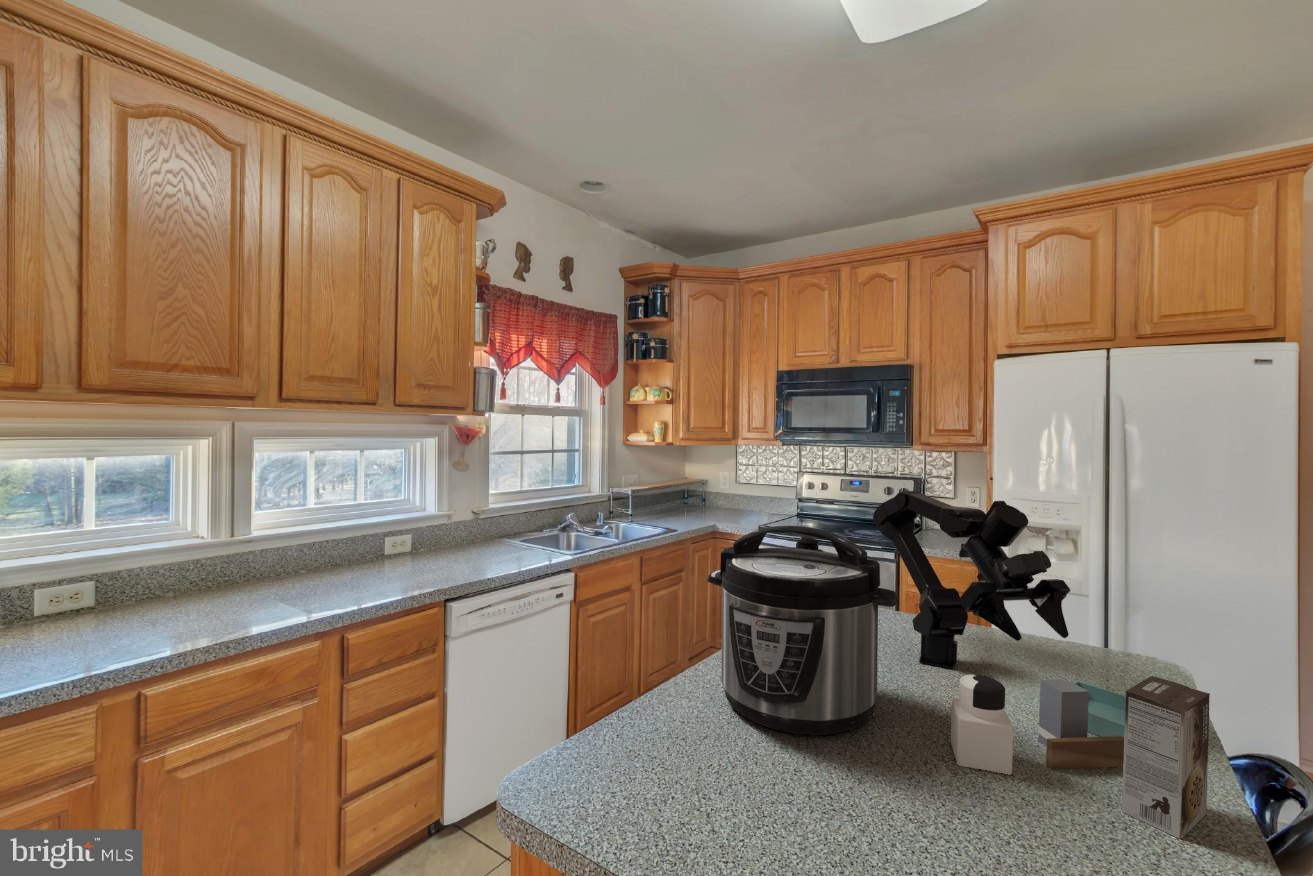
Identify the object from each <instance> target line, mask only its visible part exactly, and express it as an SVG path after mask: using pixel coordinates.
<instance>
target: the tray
mask: <svg viewBox="0 0 1313 876" xmlns="http://www.w3.org/2000/svg"><path fill="white" fill-rule="evenodd" d="M1070 681H1071V680H1070ZM1071 682H1072V683H1074V684H1076V685H1078V686H1080V687H1082V688H1083V689H1085V690H1087V691H1089V701H1088V731H1087V733H1090V734H1093V735H1095V736H1097V737H1113V736H1122V737H1124V736H1125V706H1126V694H1123V693H1120V692H1118V691H1114V690H1110V689H1107V688H1104V687H1101V686H1098V685H1094V684H1092V683H1089V682H1088V683H1087V682H1085V681H1082V680H1078V679H1074V680H1072V681H1071Z"/></svg>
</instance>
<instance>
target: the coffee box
mask: <svg viewBox="0 0 1313 876" xmlns="http://www.w3.org/2000/svg"><path fill="white" fill-rule="evenodd" d="M1125 695H1126V706H1125V736H1124V764H1123V767H1122V768H1123V769H1122V774H1123V775H1122V790H1121V791H1122V793H1121V796H1122V797H1121V798H1122V799H1121V811H1122V813H1124V814H1125V815H1127V816H1130V817H1132V818H1135V819H1136V820H1138V821H1141V822H1143V823H1145V824H1147V825H1149V826H1151V827H1154V828H1156V829H1157V830H1160V831H1161V832H1164V833H1167V834H1168V835H1170V836H1173V837H1175V838H1176V839H1180V840H1182V839H1184V837H1185V836H1187V834H1188V833H1190V832H1191V830H1192V829H1193V828H1194V827H1196V825H1197V824H1198V823H1199V822H1200V821H1202V819H1203V818H1204V817H1205V816H1206V815H1207V802H1208V801H1207V800H1208V799H1207V796H1208V795H1207V794H1208V765H1209V764H1208V762H1209V761H1208V760H1209V733H1210V728H1209V727H1210V697H1211V694H1210V693H1209V692H1205V691H1201V690H1198V689H1195V688H1191V687H1189V686H1187V685H1185V684H1180V683H1178V682H1175V681H1171V680H1167V679H1164V678H1161V677H1158V676H1153V675H1151V676H1149V677H1147V678H1145V679H1143V680H1142V681H1140V682H1139V683H1138V682H1137V683H1136V684H1135V685H1133V686H1132V687H1130V688H1129V689H1127V690H1126V691H1125Z"/></svg>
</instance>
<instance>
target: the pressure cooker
mask: <svg viewBox="0 0 1313 876" xmlns="http://www.w3.org/2000/svg"><path fill="white" fill-rule="evenodd" d="M768 533H793V534H794V533H795V534H799V535H802V536H800V537H799V538H798V539H796V543H795V547H791V548H790V547H762V548H761V547H760V546H761V544H762V543H763V541H764V539H765V537H766V535H767V534H768ZM816 538H818V539H823V540H827V541H830V542H831V543H832V546H833V547H834V549H835V552H833V551H828V550H827V551H826V550H824V549H820V548H819V543H820V541H819V540H817V539H816ZM719 563H720V569H717V570H714V571H712V572H710V573H709V574H708V576H707V579H706V580H707V581H706V582H708V583H710V584H712V585H715V586H717V587H721V666H720V667H721V676H720V679H721V685H722V688H723V690H724V695H725V698H726V700H727V701H728V703H729V704H730V705H731V707H732V708H733V709H734V710H735V711H736V712H738V714H740V715H742V716H743V717H745V718H747V719H748V720H750V721H752V722H753V723H756V724H759V725H761V726H763V727H765V728H770V729H773V730H776V731H780V732H786V733H791V734H797V735H813V736H821V735H822V736H823V735H833V734H834V735H835V734H838V733H843V732H848V731H851V730H853V729H857V728H858V727H860V726H862V725H863V724H864V723H865V722H867V721H868V719H869V718H870V717H871V716H872V714H873V711H874V710H875V708H876V702H877V698H878V663H879V661H878V660H879V659H878V658H879V656H878V655H879V654H878V653H879V652H878V651H879V650H878V649H879V647H878V645H879V644H878V642H879V606H880V607H886V608H887V607H888V608H893V607H895V606H896V605H897V604H898V595H899V594H898V592H897V591H895V590H891V589H889V588H888V589H887V588H882V587H881V565H880V563H879V561H878V560H876V559H868V551H866V550H865V549H864V548H863V547H861V546H860V545H858V544H856V543H855V542H853V541H852V540H849V539H848V538H845V537H843V536H841V535H839V534H836V533H833V532H832V531H831V532H830V531H827V530H823V529H819V528H816V527H815V528H814V527H808V526H800V525H776V526H768V527H765V528H759V529H757V530H754V531H751V532H749V533H746V534H744V535H742V536H740V537H739V538H738V539H736V540H735V541H734V542H733V544H732V546H729V547H726V548H723V549H722V550H721V551H720V562H719Z"/></svg>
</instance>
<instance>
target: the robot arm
mask: <svg viewBox="0 0 1313 876" xmlns="http://www.w3.org/2000/svg"><path fill="white" fill-rule="evenodd" d="M920 516H922V517H924V518H926V519H928V520H930V521H932V522H935V523H937V524H938V525H939V529H940V530H941V531H942V532H944V534H946V535H948V536H949V537H950V538H952V539H967V540H966V542H964V543H961V544H960V550H959V552H958V553H959V554H958V556H959V558H966V559H967V558H970V560H971V561H972V563H973V564H974V566H975V568H976V569H977V571H978V572H979V573H978V574H977V576H976V577H977V579H978V581H972V582H971V583H970V584H969V585H968V587H967V588H966V589H965V591H964V592H963V593H962V594H961V595H960V594H959V591H958V590H957V589H956V588H954V587H952V588H948V587H945V586H944V585H943V584H942V582H941V580H940V578H939V577H938V575H937V573H936V571H935V569H934V567H933V566H932V564H931V562H930V560H929V558H928V557H927V555H926V553H925V552H924V549H923V548H922V546H921V544H920V542H919V541H918V539H917V537H916V535H915V533H914V532H915V531H914V530H915V525H916V521H915V520H916V519H917V518H918V517H920ZM872 520H873V522H874V524H875V527H876V528H877V530H878V531H879V532H880V534H881V535H882V536H884V537H885V538H887V539H888V540H890V542H892V543H893V544H894V546H895V548H896V551H897V552H898V554H899V556H900V558H901V560H902V562H903V564H904V566H905V567H906V569H907V571H908V573H909V575H910V577H911V579H912V581H913V582H914V585H915V587H916V589H917V591H918V593H919V595H920V596H919V603H918V608H919V609H918V610H919V613H918V614H916V615H915V616H914V618H913V619H912V626H913V630H914V631H915V632H918V633H919V634H920V656H919V660H918V662H919V663H921V664H926V665H929V666H930V665H931V666H935V667H940V668H945V669H950V670H953V669H954V668H955V667H954V666H955V665H956V664H957V661H958V645H959V644H958V640H955V637H956V636H964V632H965V629H966V625H967V622H968V620H969V613H972V615H974V616H975V617H980V618H981V619H983V620H985V621H986V622H988V623H989V624H991V625H992V626H994V627H996V628H997V629H999V630H1000V631H1002V633H1005V634H1006V635H1008V636H1009V638H1012V639H1014V640H1015V641H1017V642H1018V641H1021V639H1023V636H1022V635H1021V632H1020V630H1019V629H1018V626H1017V625H1016V624H1015V622H1014V619H1013V618H1012V617H1011V615H1010V613H1009V612H1008V610H1007V608H1006V606H1005V602H1010V601H1011V602H1012V601H1028V602H1029V603H1030V604H1031V607H1034V608H1036V609H1035V612H1036V613H1037V615H1038V616H1039V617H1040V618H1041V619H1042V620H1044V622H1045V623H1046V624H1048V625H1049V626H1050V628H1052V629H1053V630H1054V631H1055V632H1056V633H1057V634H1058V635H1059V636H1060V637H1062V639H1067V638H1068V636H1070V635H1069V631H1068V627H1067V623H1066V620H1065V616H1064V613H1063V607H1062V605H1063V601H1064V599H1066V597H1067V596H1068V594H1069V593H1070V592H1071V588H1070V587H1069V586H1068V584H1067V583H1066V582H1065V581H1064V580H1063V579H1060V578H1052V579H1051V578H1049V579H1048V578H1047V579H1040V581H1039V582H1038V583H1037V584H1035V586H1034V587H1029V586H1028V585H1029V584H1032V583H1033V581H1035V579H1034V577H1033V576H1036V575H1039V574H1041V573H1043V574H1044V573H1047V572H1048V569H1050V568H1051V567H1052V562H1051V559H1050V558H1049V556H1048V555H1047V554H1046V553H1045V552H1044V550H1034V551H1033V552H1030V553H1019V554H1016V555H1013V556H1010V557H1009V556H1008V555H1007V554H1006V552H1005V551H1004V549H1003V548H1008V547H1010V546H1012V544H1014V542H1015V541H1016V539H1017V538H1018V537H1019V536H1020V534H1022V532H1023V531H1024V530H1025V529H1026V527H1028V525H1029V519H1028V517H1027V515H1026V513H1024V512H1023V511H1021V510H1019V509H1018V508H1016V507H1014V506H1012V505H1009V504H1007V502H1006V501H1005V500H994V501H993V502H992V504H991V506H990V508H989V509H988V510H987V512H986V513H985V512H984V511H983V510H982V509H980V508H975V507H974V508H973V507H966V506H965V507H964V506H956V505H955V506H953V505H951V504H948V503H946V502H943V501H941V500H938V499H936V498H933V497H932V496H928V495H925V494H923V493H922V492H921V491H918V490H902V491H899V492H897V493H896V495H895V496H893V497H891V498H889V499H888V500H886V501H883V502H882V503H880V505H879V506H878V507H877V508H876V509H875V510H874V512H873V513H872Z"/></svg>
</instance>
